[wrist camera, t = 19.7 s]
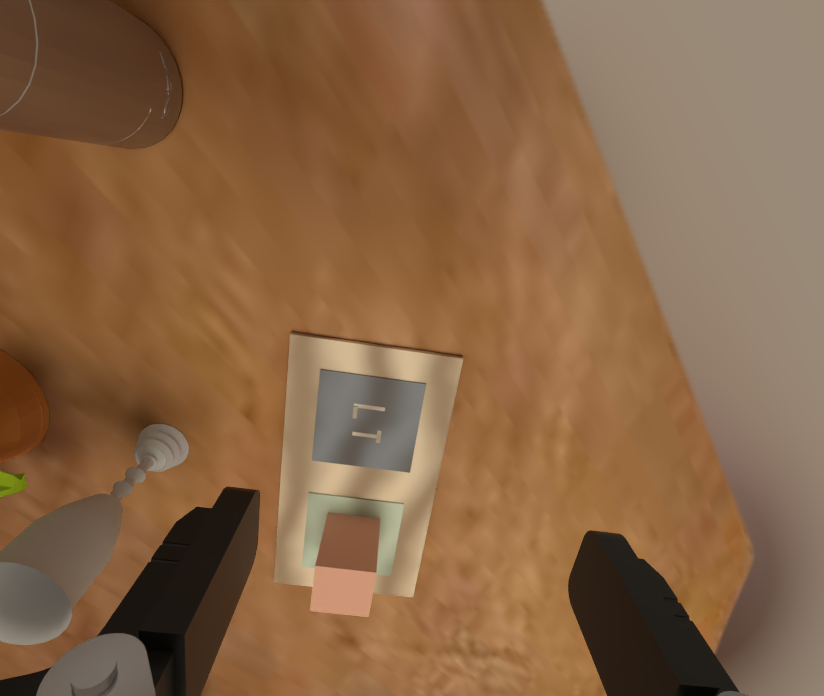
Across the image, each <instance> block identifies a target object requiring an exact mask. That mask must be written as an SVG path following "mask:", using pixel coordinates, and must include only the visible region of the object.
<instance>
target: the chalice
mask: <svg viewBox="0 0 824 696" xmlns="http://www.w3.org/2000/svg"><path fill="white" fill-rule="evenodd" d="M188 453H189V445H188V442H187V440H186V438H185V437H184V436H183V434H182V433H181V432H180V431H178V430H177V429H175V428H174V427H171V426H169V425H165V424H153V425H149V426H147V427H145V428H144V429H143V430H142V431H141V432H140V433H139V436H138V439H137V444H136V447H135V450H134V455H135V459H136V461H137V463H138V464H139V465H138V466H137V467H131V468H129V469H127V471H126V473H125V476H126V478H125V480H123V481H118V482H116V483H115V484H114V486H113V491H112V493H111V494H110V495H108V494H97V495H93V496H90V497H87V498H84V499H81V500H78V501H75V502H72V503H69V504H67V505H65V506H63V507H61V508H59V509H57V510H55V511H53V512H51V513H48V514H46V515H44V516H43V517H41V518H39V519H37V520H35V521H34V522H33V523H32V524H31V525H30V526H29V527H27V528H26V529H25V530H24V531H23V532H22V533H21V534H20V535H19V536H17V537H16V538H15V539H14V540H13V541H12V542H11V543H10V544H9V545H7V546H6V547H5V548H4V549H3V550H2V551H1V552H0V641H2V642H6V643H10V644H22V645H32V644H38V643H44V642H47V641H49V640H51V639H53V638H55V637H58V636H59V635H60V634H61V633H62V632H63V631H64V630H65V629H66V628H67V627H68V625H69V622H70V620H71V617H72V614H73V609H74V606H75V604H76V603H77V602H78V601H79V599H80V598H81V597H82V595H83V594H84V593H85V592H86V590H87V589H88V588H89V587H90V585H91V584H92V583H93V582H94V580H95V579H96V578H97V577H98V575H99V574H100V573H101V572H102V570H103V569H104V568H105V566H106V565H107V564H108V562H109V560H110V557H111V555H112V552H113V550H114V547H115V544H116V541H117V538H118V535H119V530H120V524H121V518H122V512H123V509H122V505H121V503H120V502H119V500H120V499H122V498H123V497H124V496H129V495H130V494H131V493H132V487H133V485H134V484H136V483H137V484H138V483H141V482H143V481H144V480H145V478H146V476H145V472H146V470H148V471H152V472H161V471H165V470H167V469H169V468H171V467H173V466H177V465H179V464H181V463H182V462H183V461H184V460H185V459H186V458H187V455H188Z"/></svg>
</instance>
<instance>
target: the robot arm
mask: <svg viewBox="0 0 824 696" xmlns="http://www.w3.org/2000/svg"><path fill="white" fill-rule="evenodd" d="M181 104H182V86H181V78H180V75H179V71H178V68H177V64H176V62H175V60H174V58H173V56H172V54H171V52H170V50H169V49H168V47H167V46H166V45H165V43H164V42H163V40H162V39H161V38H160V36H159V35H157V34H156V33H155V32H154V31H153V30H152V29H151V28H150V27H149V26H148V25H147V24H145V23H144V22H142V21H141V20H139V19H138V18H136V17H135V16H133V15H131V14H130V13H128V12H127V11H125V10H124V9H122V8H121V7H119V6H118V5H116V4H114V3H113V2H111V1H110V0H0V130H5V131H12V132H19V133H25V134H32V135H39V136H46V137H53V138H60V139H66V140H73V141H80V142H87V143H92V144H100V145H107V146H114V147H121V148H128V149H136V148H144V147H148V146H151V145H154V144H155V143H157V142H159V141H160V140H162V139H163V138H164V137H165V136H166V135H167V134H168V133H169V132H170V131H171V130H172V128H173V127H174V125H175V123H176V121H177V120H178V116H179V113H180V110H181ZM259 508H260V492H259V490H253V489H244V488H236V487H225V488H224V490H223V491H222V493H221V494H220V496H219V498H218V499H217V501H216V503H215V504H214V506H213V507H212V508H203V507H196V508H195V509H193V510H192V511H191V512H189V513H188V514H186V515H185V516H184V517H182V518H181V519H180V520H178V521H177V522H176V523H175V525H174V526H173V528H172V529H171V530H170V532H169V533H168V535H167V536H166V538H165V539H164V541H163V544H162V546H161V545H160V546H159V548H158V549H157V551H156V552H155V554H154V555H153V557H152V559H151V562H148V564H147V565H146V567H145V568H144V570H143V571H142V573H141V574H140V576H139V577H138V578H137V580H136V581H135V583H134V584H133V586H132V587H131V589H130V590H129V592H128V593H127V594H126V596H125V597H124V599H123V600H122V602H121V603H120V605H119V606H118V608H117V609H116V611H115V612H114V613H113V615H112V616H111V618H110V619H109V621H108V622H107V624H106V625H105V627H104V628H103V629H102V630H101V632H100V633H99V634H98V635H97V636H96V637H95V638H92V639H89V640H87V641H85V642H83V643H81V644H79V645H78V646H76V647H74V648H73V649H71V650H70V651H69V652H67V653H66V654H65V655H63V656H62V657H61V658H60V659H59V660H58V661H57V662H56V663H55V664H54V665H53V666H52V667H51V668H48V669H45V670H43V671H39V672H36V673H32V674H27V675H23V676H18V677H13V678H9V679H4V680H0V696H200V695H201V693H202V690H203V688H204V685H205V683H206V680H207V678H208V675H209V673H210V670H211V668H212V665H213V663H214V661H215V658H216V656H217V653H218V651H219V648H220V646H221V643H222V641H223V638H224V636H225V633H226V631H227V628H228V626H229V623H230V621H231V618H232V616H233V614H234V611H235V609H236V606H237V604H238V601H239V599H240V596H241V594H242V591H243V589H244V586H245V584H246V581H247V579H248V576H249V574H250V571H251V569H252V566H253V563H254V559H255V555H256V550H257V544H258V528H259ZM568 591H569V599H570V603H571V606H572V608H573V611H574V614H575V616H576V619H577V621H578V624H579V626H580V629H581V631H582V634H583V636H584V639H585V641H586V644H587V646H588V649H589V651H590V654H591V656H592V659H593V661H594V664H595V666H596V669H597V671H598V674H599V676H600V679H601V681H602V684H603V686H604V689H605V691H606V694H607V696H747V695H745V694H743V693H740V692H739V691H738V689H737V688H736V686H735V685H734V683H733V682H732V680H731V679H730V677H729V676H728V674H727V673H726V671H725V670H724V668H723V667H722V665H721V664H720V662H719V661H718V659H717V658H716V656H715V654H714V653H713V651H712V650H711V648H710V647H709V645H708V644H707V642H706V641H705V639H704V638H703V636H702V635H701V633H700V632H699V630H698V629H697V627H696V626H695V624H694V623H693V621H690V620H689V615H688V614H687V612H686V611H685V609H684V608H683V606H682V605H681V603H678V601H677V597H676V596H675V594H674V593H673V591H672V590H671V588H670V587H669V585H668V584H667V582H666V581H665V579H664V578H663V577H662V576H661V575H660V574H659V573H658V572H657V571H656V570H655V569H654V568H653V567H651V566H650V565H649V564H648V563H647V562H646V561H645V560H644V559H638V557H637V556H636V554H635V553H634V551H633V550H632V548H631V546H630V545H629V543H628V542H627V540H626V539H625V537H624V536H623V535H621V534H616V533H608V532H599V531H588V532H587V533H586V534H585V536H584V538H583V541H582V544H581V546H580V549H579V552H578V555H577V557H576V560H575V563H574V566H573V568H572V571H571V574H570V577H569V584H568Z"/></svg>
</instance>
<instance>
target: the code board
mask: <svg viewBox="0 0 824 696" xmlns="http://www.w3.org/2000/svg"><path fill="white" fill-rule="evenodd" d="M462 363H463V356H456V355H449V354H442V353H435V352H428V351H421V350H414V349H407V348H400V347H393V346H386V345H379V344H372V343H365V342H357V341H350V340H343V339H336V338H329V337H322V336H315V335H308V334H301V333H294V332H292V333H291V334H290V346H289V361H288V376H287V391H286V406H285V421H284V436H283V451H282V466H281V481H280V496H279V511H278V526H277V542H276V557H275V572H274V583H282V584H291V585H301V586H310V587H313V580H314V571H315V564H316V560H317V556H318V552H319V547H320V543H321V539H322V535H323V531H324V526H325V522H326V518H327V514H328V512H329V513H337V514H346V515H354V516H362V517H371V518H379V519H380V532H379V545H378V559H377V572H376V578H375V584H374V589H373V593H377V594H387V595H396V596H406V597H413V595H414V590H415V585H416V581H417V576H418V571H419V566H420V562H421V557H422V552H423V547H424V543H425V538H426V533H427V528H428V524H429V519H430V514H431V510H432V505H433V500H434V495H435V491H436V486H437V481H438V476H439V472H440V467H441V462H442V457H443V453H444V448H445V443H446V438H447V434H448V429H449V424H450V419H451V415H452V410H453V405H454V400H455V396H456V391H457V386H458V382H459V377H460V372H461V367H462Z"/></svg>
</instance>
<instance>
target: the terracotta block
mask: <svg viewBox="0 0 824 696" xmlns="http://www.w3.org/2000/svg"><path fill="white" fill-rule="evenodd" d="M379 532H380V519H379V518H371V517H362V516H354V515H346V514H337V513H329V512H328V514H327V518H326V522H325V526H324V531H323V535H322V539H321V543H320V547H319V552H318V556H317V560H316V564H315V571H314V580H313V589H312V597H311V606H310V611H315V612H325V613H334V614H344V615H354V616H363V617H369V612H370V606H371V601H372V595H373V589H374V584H375V578H376V572H377V559H378V545H379Z"/></svg>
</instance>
